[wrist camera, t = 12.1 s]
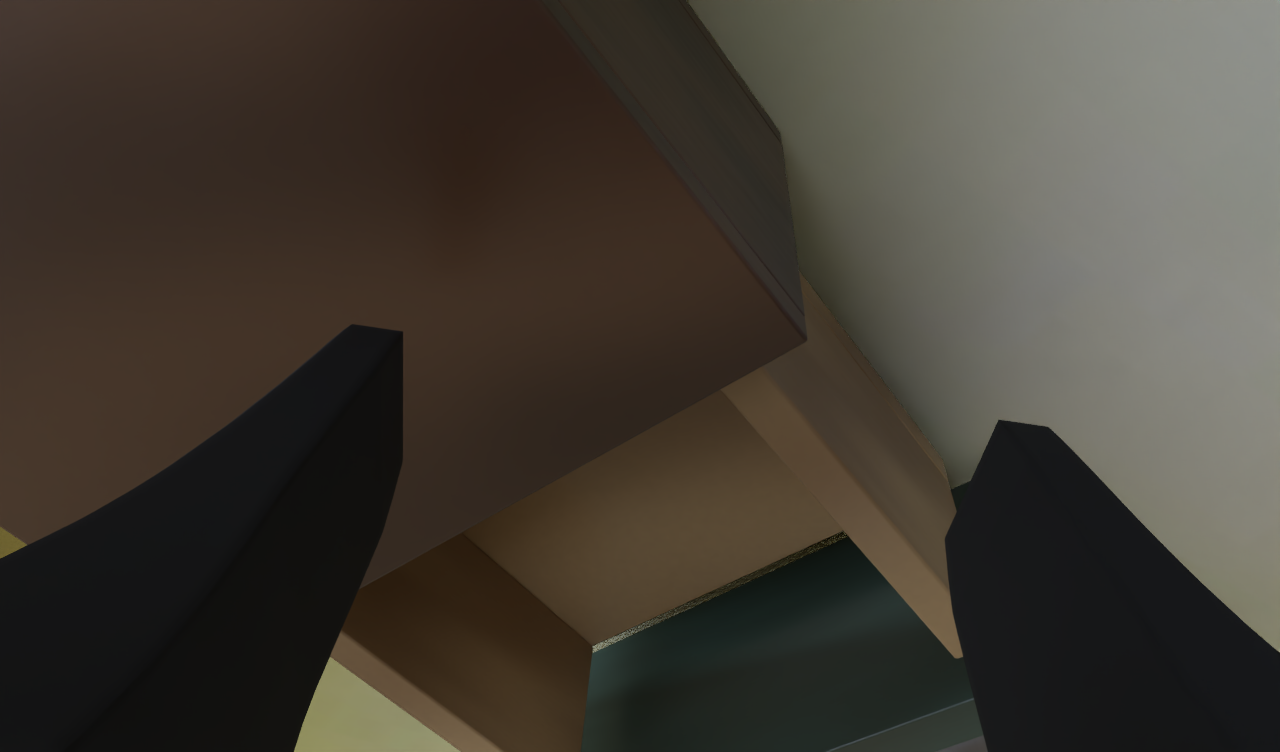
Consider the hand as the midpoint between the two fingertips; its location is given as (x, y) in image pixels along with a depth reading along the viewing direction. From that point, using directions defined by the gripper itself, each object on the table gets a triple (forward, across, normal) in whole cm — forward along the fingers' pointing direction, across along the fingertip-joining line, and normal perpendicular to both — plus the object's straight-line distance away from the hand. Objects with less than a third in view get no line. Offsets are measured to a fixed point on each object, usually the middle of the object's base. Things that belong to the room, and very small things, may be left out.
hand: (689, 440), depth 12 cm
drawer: (+9, -1, +9) cm, 12 cm away
